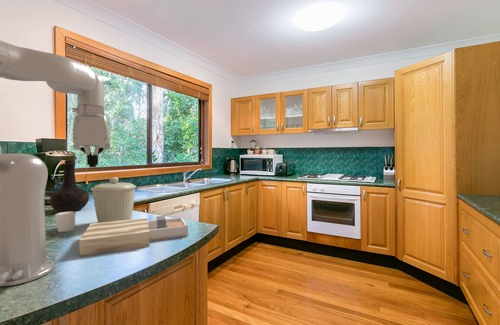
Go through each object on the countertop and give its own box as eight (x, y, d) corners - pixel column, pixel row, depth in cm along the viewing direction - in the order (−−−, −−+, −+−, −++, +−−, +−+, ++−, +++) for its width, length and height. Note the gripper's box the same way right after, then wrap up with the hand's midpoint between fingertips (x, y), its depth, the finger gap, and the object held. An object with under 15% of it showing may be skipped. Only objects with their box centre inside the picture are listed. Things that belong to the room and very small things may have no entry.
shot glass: (65, 232, 101) (64, 215, 101) (51, 231, 103) (50, 214, 102) (80, 227, 108) (79, 211, 108) (66, 226, 109) (66, 210, 109)
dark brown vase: (51, 216, 128) (49, 161, 127) (48, 210, 141) (46, 160, 140) (92, 210, 140) (91, 160, 139) (86, 205, 153) (84, 159, 152)
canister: (96, 220, 120) (95, 176, 119) (138, 216, 126) (137, 174, 125) (87, 231, 103) (85, 179, 102) (135, 226, 109) (134, 178, 108)
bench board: (149, 246, 86) (149, 231, 86) (79, 256, 78) (79, 240, 78) (147, 229, 104) (147, 217, 104) (90, 236, 96) (90, 223, 96)
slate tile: (157, 236, 94) (166, 235, 95) (157, 220, 94) (165, 219, 95) (156, 231, 99) (164, 230, 100) (156, 216, 99) (164, 215, 100)
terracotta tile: (167, 227, 95) (167, 235, 95) (183, 225, 97) (183, 232, 98) (165, 223, 100) (165, 230, 100) (181, 221, 103) (181, 228, 103)
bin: (187, 236, 96) (187, 225, 96) (149, 241, 91) (149, 230, 90) (181, 226, 109) (181, 217, 109) (148, 230, 103) (148, 220, 103)
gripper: (61, 109, 78) (63, 168, 79) (115, 112, 84) (117, 167, 85) (67, 112, 85) (69, 167, 86) (117, 115, 91) (118, 166, 92)
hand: (92, 166), depth 85 cm, fingers closed
